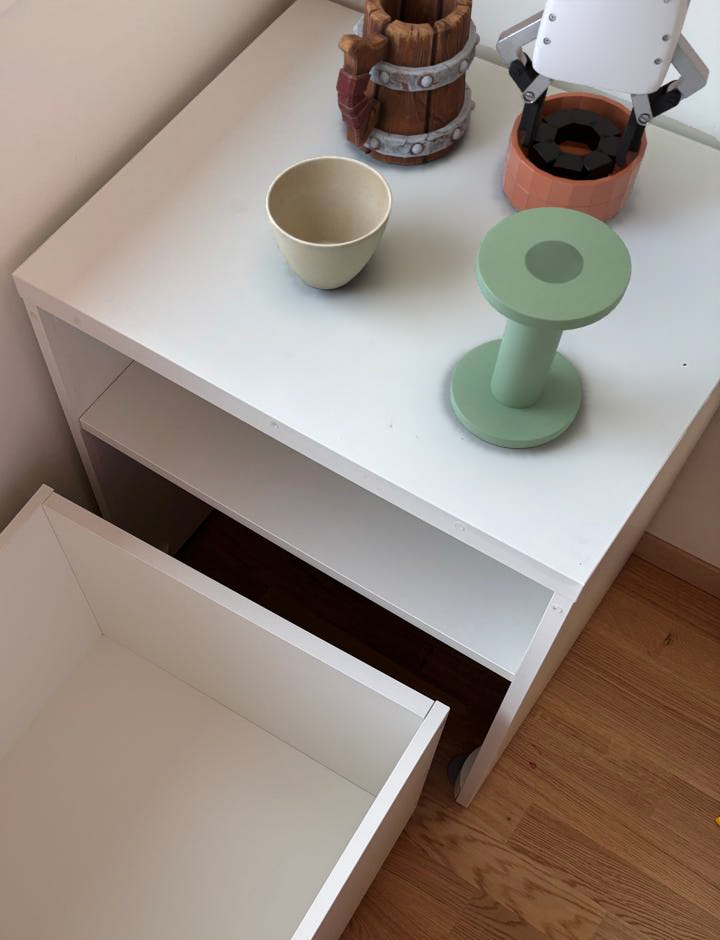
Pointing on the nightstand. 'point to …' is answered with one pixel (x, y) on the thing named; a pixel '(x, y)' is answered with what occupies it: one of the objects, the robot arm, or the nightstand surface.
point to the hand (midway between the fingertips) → (575, 144)
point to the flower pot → (328, 217)
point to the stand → (536, 322)
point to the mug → (408, 78)
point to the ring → (582, 130)
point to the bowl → (546, 190)
